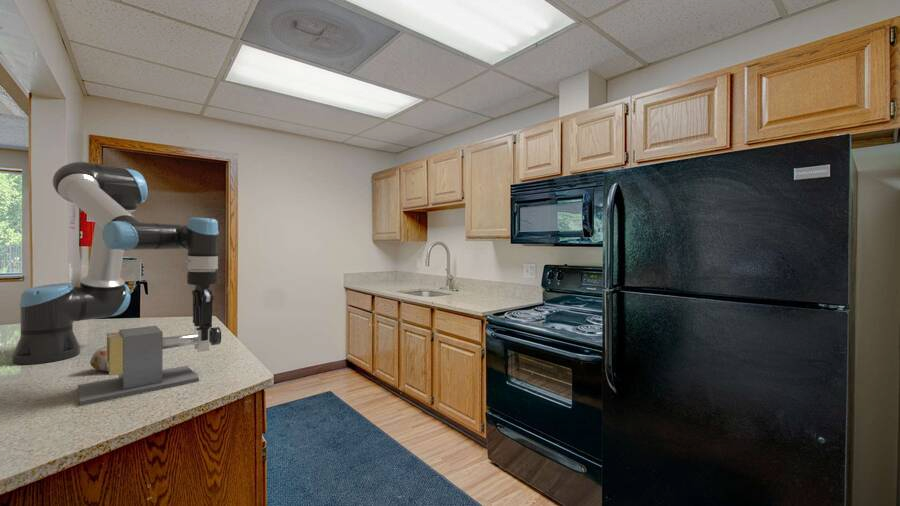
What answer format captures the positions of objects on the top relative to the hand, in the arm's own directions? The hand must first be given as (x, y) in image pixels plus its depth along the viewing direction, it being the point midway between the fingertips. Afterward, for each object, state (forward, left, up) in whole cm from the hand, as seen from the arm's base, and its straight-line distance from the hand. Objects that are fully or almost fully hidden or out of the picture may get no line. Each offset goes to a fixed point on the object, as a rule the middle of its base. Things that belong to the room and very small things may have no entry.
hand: (201, 349), depth 114 cm
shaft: (0, -8, +1) cm, 8 cm away
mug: (-19, -18, -7) cm, 27 cm away
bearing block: (0, -14, -7) cm, 16 cm away
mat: (0, -14, -7) cm, 16 cm away
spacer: (0, -19, -2) cm, 20 cm away
